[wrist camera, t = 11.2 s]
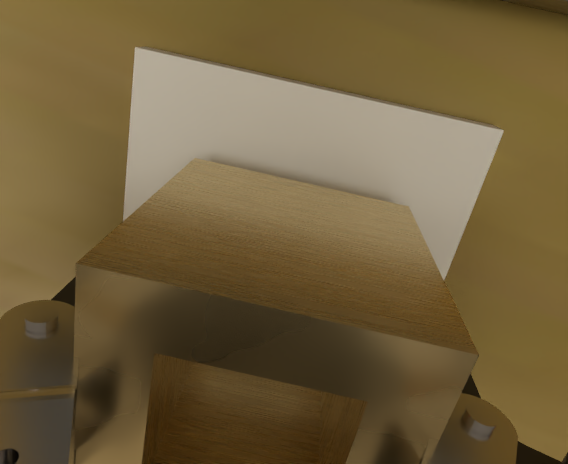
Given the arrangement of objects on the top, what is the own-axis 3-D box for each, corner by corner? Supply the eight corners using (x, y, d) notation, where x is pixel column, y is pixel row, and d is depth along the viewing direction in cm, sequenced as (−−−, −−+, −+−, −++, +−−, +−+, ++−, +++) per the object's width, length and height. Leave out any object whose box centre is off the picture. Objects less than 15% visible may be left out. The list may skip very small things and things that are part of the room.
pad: (494, 125, 13) (503, 130, 12) (389, 394, 17) (392, 410, 16) (146, 46, 13) (135, 46, 12) (123, 334, 17) (114, 347, 16)
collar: (408, 206, 12) (478, 355, 6) (351, 375, 14) (366, 595, 8) (194, 158, 12) (76, 263, 6) (171, 334, 14) (69, 527, 8)
